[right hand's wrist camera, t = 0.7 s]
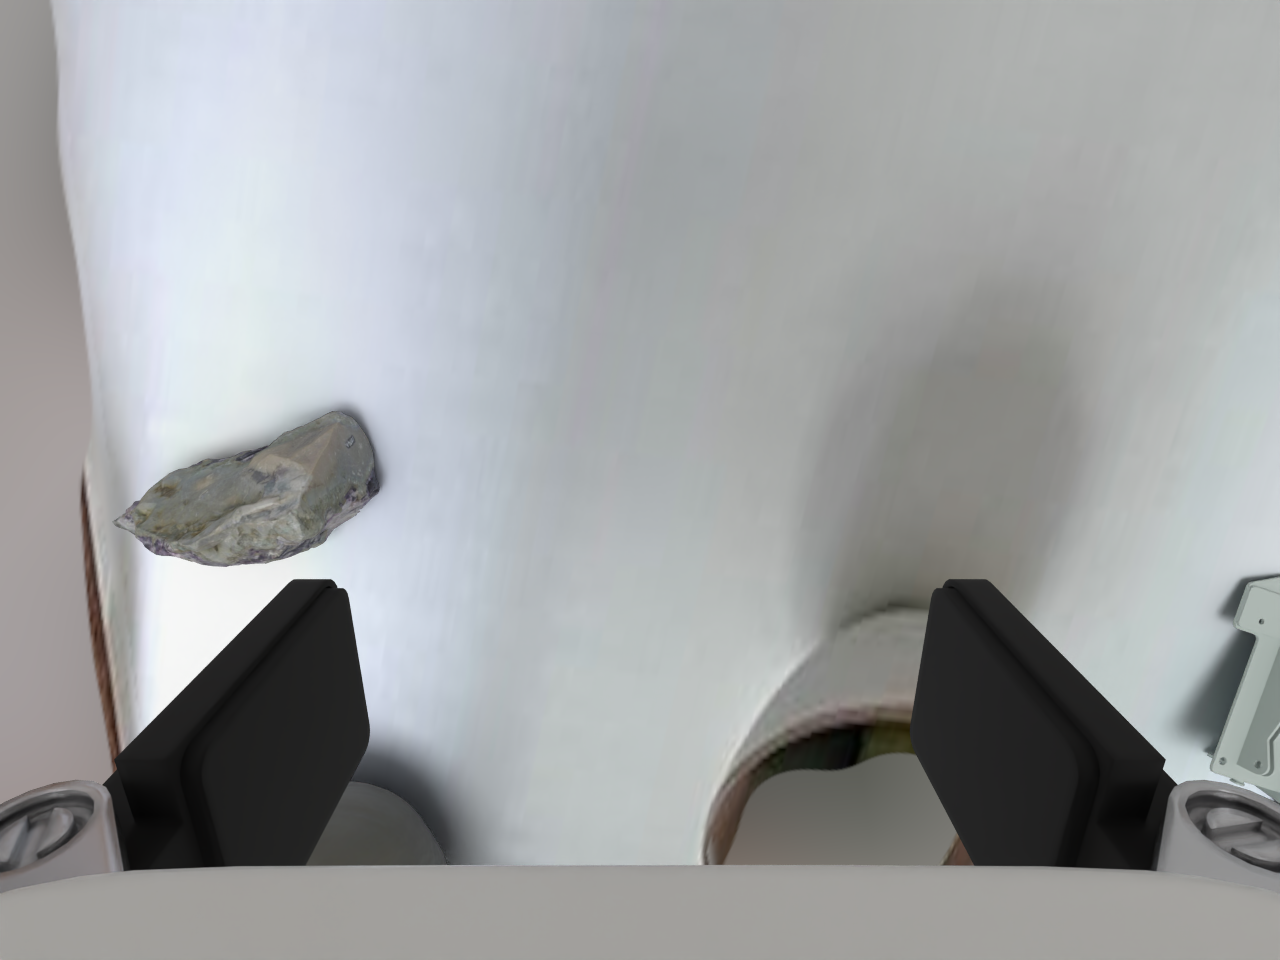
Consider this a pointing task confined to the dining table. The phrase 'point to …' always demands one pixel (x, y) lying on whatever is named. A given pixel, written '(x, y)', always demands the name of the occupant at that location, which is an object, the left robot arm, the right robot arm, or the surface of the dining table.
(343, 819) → the sculpture
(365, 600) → the dining table surface
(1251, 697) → the metal bracket
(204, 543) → the mineral rock
